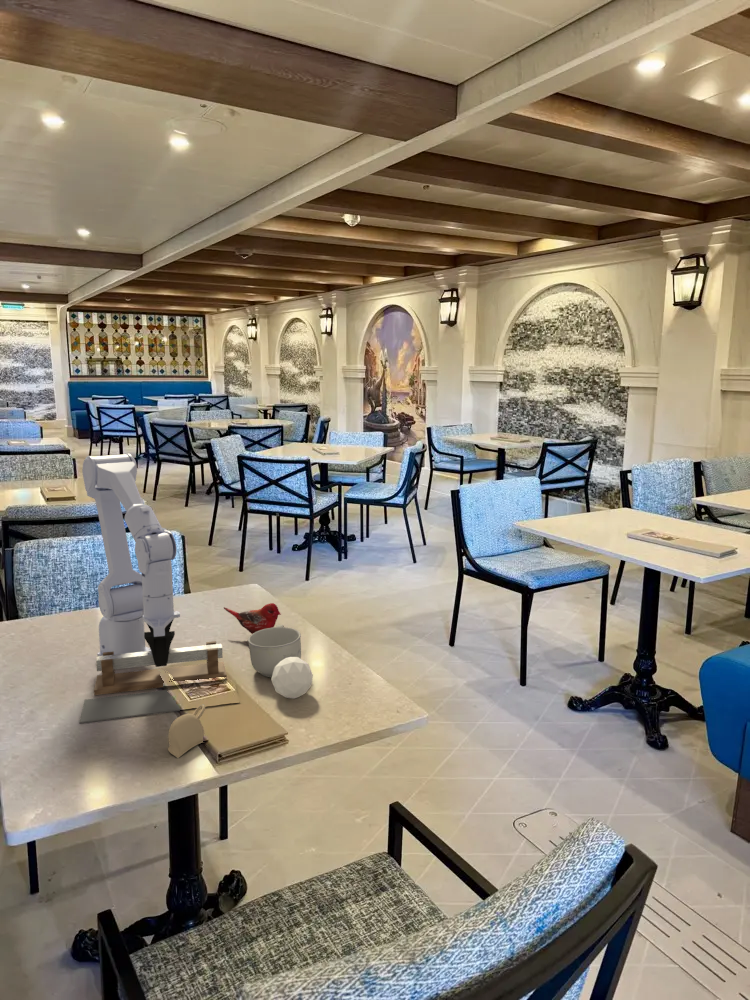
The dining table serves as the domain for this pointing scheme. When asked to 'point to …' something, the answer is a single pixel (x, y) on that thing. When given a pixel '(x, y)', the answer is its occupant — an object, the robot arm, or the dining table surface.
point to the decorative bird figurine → (257, 618)
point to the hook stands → (155, 674)
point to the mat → (127, 706)
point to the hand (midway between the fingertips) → (161, 658)
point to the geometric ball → (292, 677)
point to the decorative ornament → (186, 732)
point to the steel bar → (147, 660)
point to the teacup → (273, 647)
